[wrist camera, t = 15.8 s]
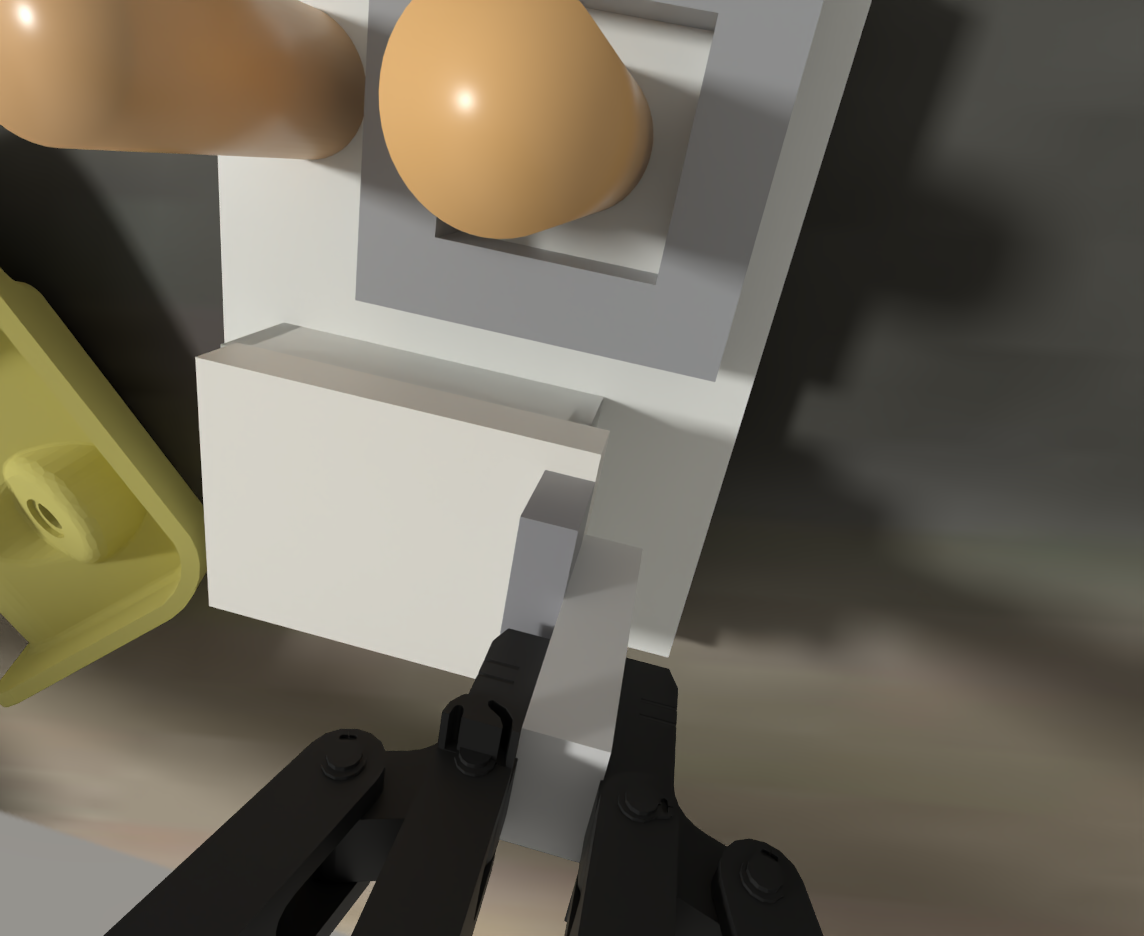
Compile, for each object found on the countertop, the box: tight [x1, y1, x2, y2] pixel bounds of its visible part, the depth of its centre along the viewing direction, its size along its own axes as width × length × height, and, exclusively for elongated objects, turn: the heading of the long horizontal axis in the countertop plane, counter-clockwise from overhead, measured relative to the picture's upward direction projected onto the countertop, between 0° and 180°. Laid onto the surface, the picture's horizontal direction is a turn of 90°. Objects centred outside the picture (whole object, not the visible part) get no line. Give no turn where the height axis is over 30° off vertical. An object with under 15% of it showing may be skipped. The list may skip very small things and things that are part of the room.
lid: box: [195, 343, 610, 679], centre depth 17 cm, size 10×7×4 cm
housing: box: [0, 0, 872, 657], centre depth 16 cm, size 16×20×10 cm
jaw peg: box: [379, 0, 653, 239], centre depth 14 cm, size 4×4×8 cm
